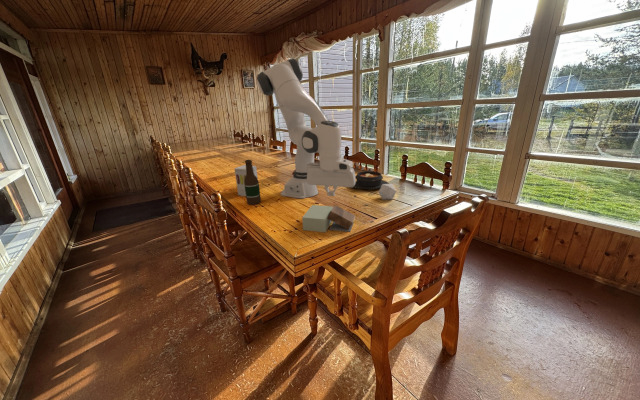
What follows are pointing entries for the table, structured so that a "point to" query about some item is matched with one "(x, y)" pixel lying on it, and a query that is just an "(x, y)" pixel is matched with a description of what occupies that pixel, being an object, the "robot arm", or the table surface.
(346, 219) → the walnut block
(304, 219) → the step
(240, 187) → the supplement box
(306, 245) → the table surface
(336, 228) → the mat
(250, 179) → the beer bottle
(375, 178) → the casserole
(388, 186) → the die
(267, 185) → the table surface
